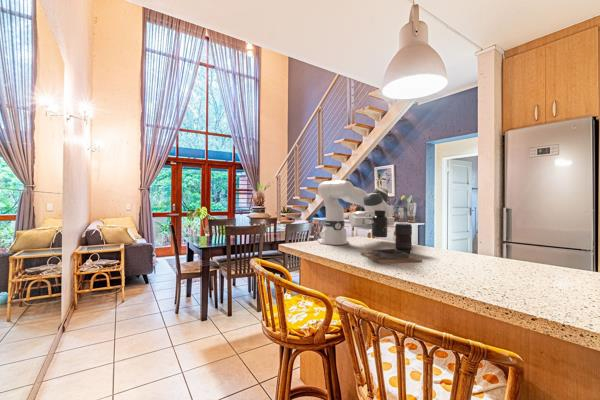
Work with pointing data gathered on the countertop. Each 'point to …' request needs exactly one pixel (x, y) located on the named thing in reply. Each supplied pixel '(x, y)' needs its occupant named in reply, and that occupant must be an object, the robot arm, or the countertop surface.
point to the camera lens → (403, 237)
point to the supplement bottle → (379, 224)
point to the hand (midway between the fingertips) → (380, 222)
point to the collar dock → (390, 256)
